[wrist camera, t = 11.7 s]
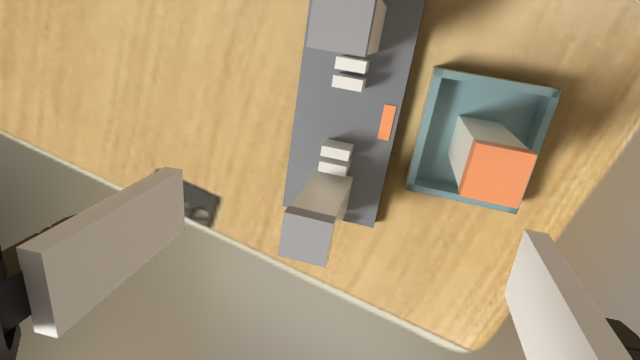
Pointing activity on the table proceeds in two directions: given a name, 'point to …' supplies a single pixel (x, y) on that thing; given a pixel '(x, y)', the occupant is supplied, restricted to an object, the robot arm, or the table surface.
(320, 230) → the block
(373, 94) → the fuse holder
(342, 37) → the block
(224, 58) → the table surface
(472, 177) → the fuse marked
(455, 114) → the tray
